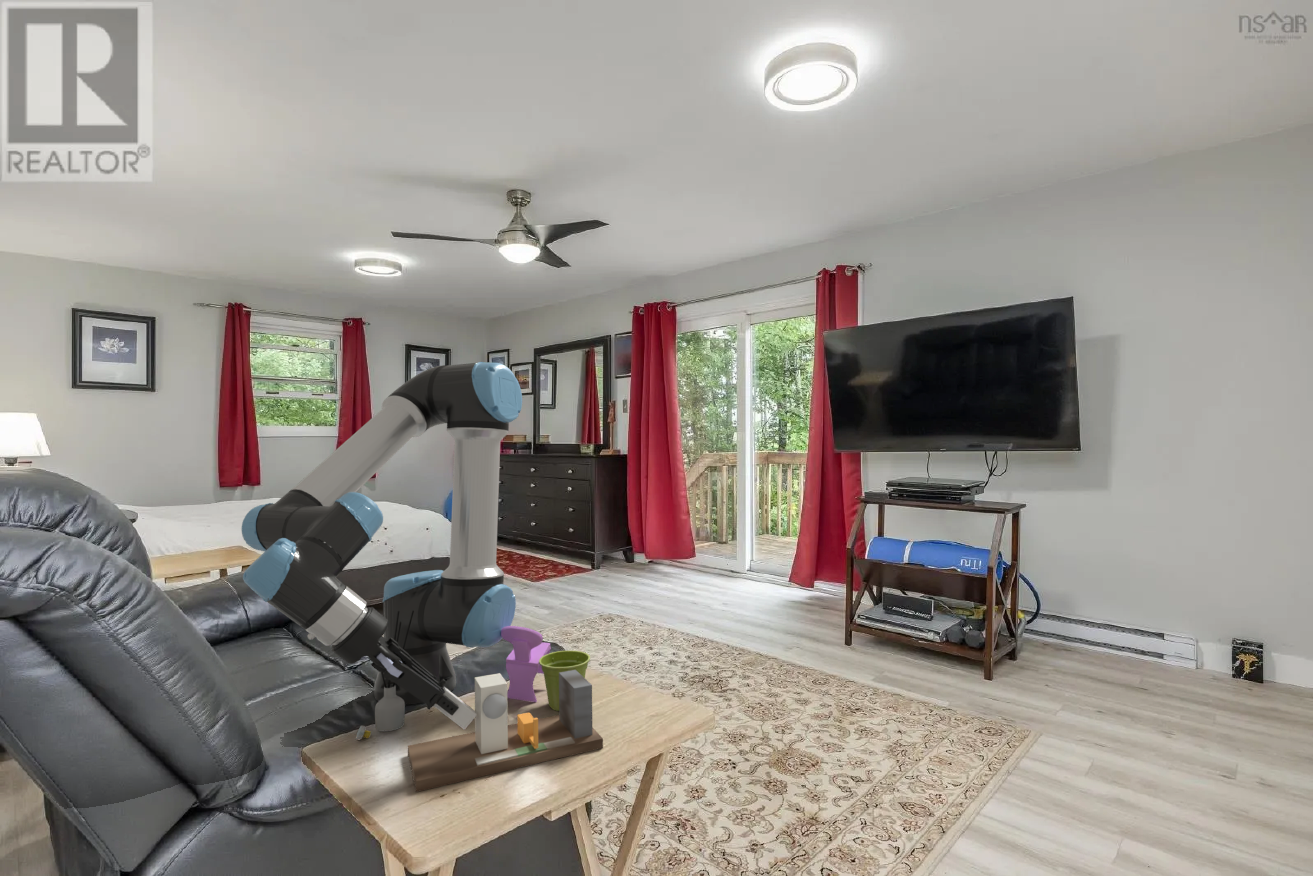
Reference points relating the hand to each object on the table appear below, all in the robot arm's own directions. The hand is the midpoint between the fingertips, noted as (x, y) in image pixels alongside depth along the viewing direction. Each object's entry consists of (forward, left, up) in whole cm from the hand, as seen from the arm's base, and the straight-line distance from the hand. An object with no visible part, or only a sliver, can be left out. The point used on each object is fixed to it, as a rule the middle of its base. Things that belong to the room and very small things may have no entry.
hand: (469, 720), depth 98 cm
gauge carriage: (0, +3, -4) cm, 6 cm away
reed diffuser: (-16, -10, -6) cm, 20 cm away
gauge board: (0, +6, -6) cm, 8 cm away
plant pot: (-13, +20, -6) cm, 24 cm away
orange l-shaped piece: (+2, +9, -4) cm, 10 cm away
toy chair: (-22, +15, -5) cm, 27 cm away
